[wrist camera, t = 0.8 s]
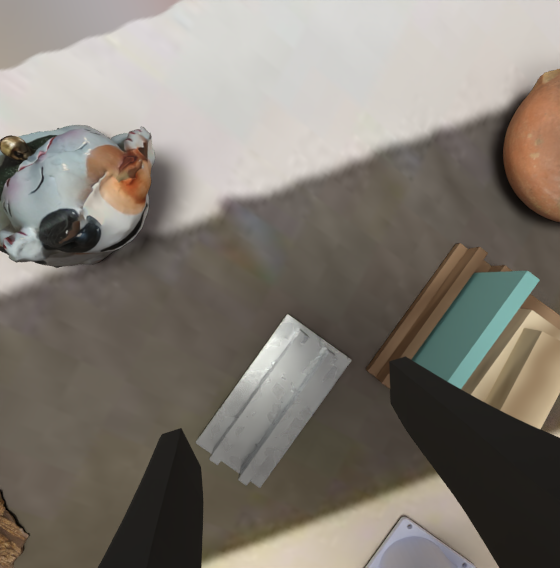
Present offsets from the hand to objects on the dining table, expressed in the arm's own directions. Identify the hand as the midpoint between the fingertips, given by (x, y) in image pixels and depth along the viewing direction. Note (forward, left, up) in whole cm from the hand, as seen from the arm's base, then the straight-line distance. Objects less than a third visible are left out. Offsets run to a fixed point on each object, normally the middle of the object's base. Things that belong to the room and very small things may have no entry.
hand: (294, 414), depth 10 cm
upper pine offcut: (-21, -9, -19) cm, 30 cm away
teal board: (-13, -9, -21) cm, 26 cm away
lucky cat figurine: (+22, +1, -22) cm, 31 cm away
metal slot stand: (-4, +7, -22) cm, 23 cm away
